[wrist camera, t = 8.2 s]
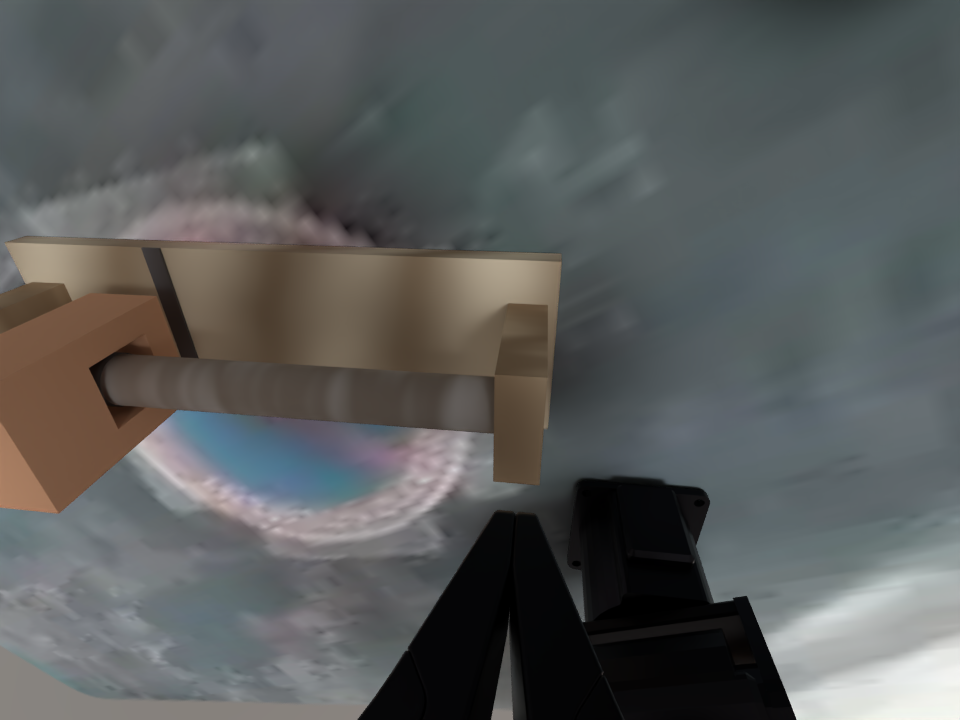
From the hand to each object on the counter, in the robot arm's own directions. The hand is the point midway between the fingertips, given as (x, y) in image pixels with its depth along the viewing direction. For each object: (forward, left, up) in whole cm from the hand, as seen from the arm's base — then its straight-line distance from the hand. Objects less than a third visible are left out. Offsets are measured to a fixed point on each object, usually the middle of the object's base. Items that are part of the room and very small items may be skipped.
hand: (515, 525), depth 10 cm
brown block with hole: (-2, +17, -10) cm, 19 cm away
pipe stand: (-2, +11, -12) cm, 16 cm away
